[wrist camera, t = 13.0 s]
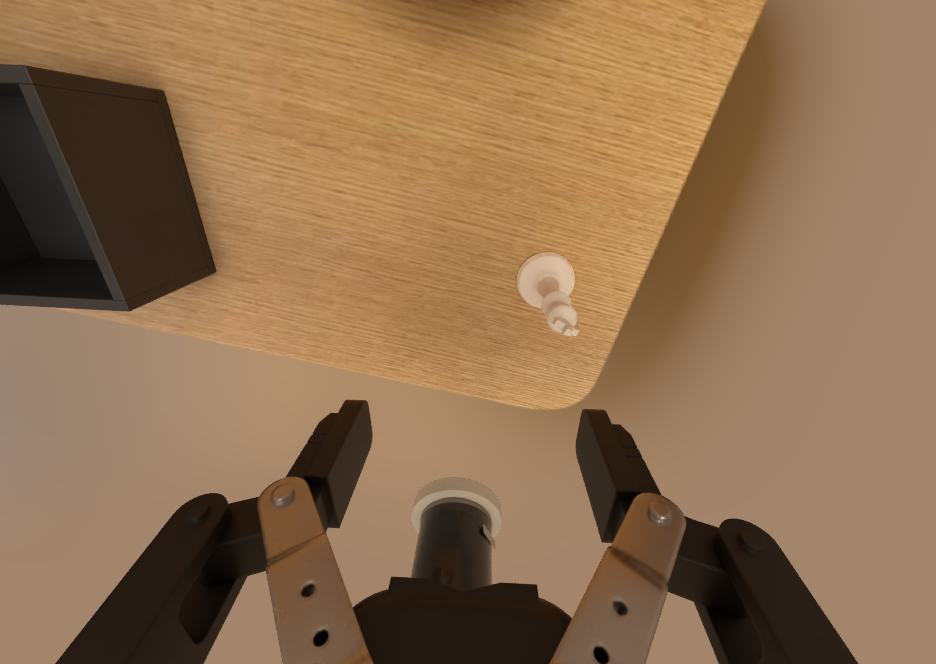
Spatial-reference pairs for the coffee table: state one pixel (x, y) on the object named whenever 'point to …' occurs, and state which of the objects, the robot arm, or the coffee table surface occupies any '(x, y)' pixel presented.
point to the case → (92, 194)
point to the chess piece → (550, 289)
